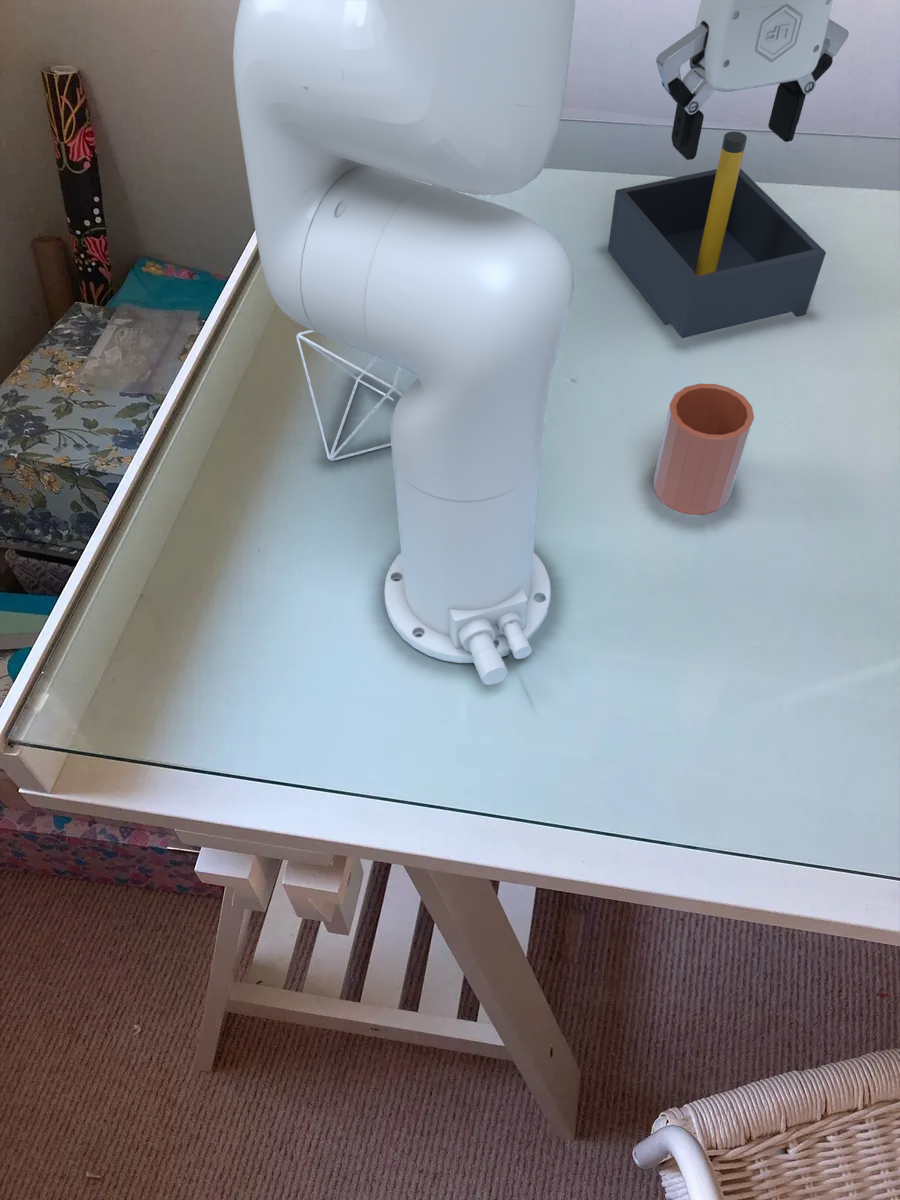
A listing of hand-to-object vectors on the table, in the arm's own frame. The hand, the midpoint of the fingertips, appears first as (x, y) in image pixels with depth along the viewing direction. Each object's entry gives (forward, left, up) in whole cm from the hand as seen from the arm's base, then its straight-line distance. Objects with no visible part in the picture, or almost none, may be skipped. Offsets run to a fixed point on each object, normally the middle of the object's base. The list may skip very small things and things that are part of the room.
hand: (732, 143), depth 86 cm
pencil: (0, 0, -14) cm, 14 cm away
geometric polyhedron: (-9, +37, -15) cm, 40 cm away
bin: (0, 0, -14) cm, 14 cm away
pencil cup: (-26, +15, -14) cm, 33 cm away
